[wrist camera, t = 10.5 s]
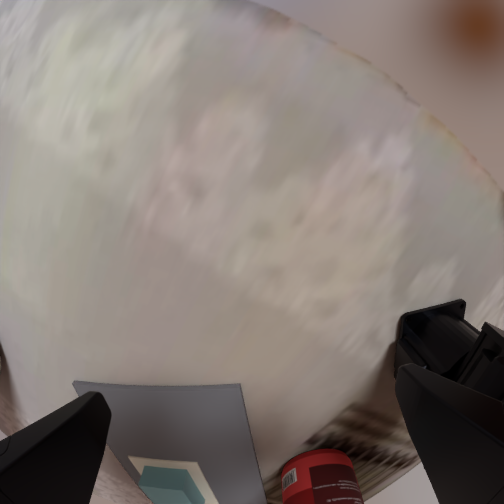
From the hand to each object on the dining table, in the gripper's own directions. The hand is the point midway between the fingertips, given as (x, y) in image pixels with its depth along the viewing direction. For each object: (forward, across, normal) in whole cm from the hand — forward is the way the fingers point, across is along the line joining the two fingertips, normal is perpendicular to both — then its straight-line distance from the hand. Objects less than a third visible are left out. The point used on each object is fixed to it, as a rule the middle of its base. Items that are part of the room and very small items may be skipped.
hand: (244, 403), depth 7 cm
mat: (+12, +10, +20) cm, 25 cm away
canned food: (+12, -4, +23) cm, 26 cm away
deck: (+11, +12, +25) cm, 30 cm away
